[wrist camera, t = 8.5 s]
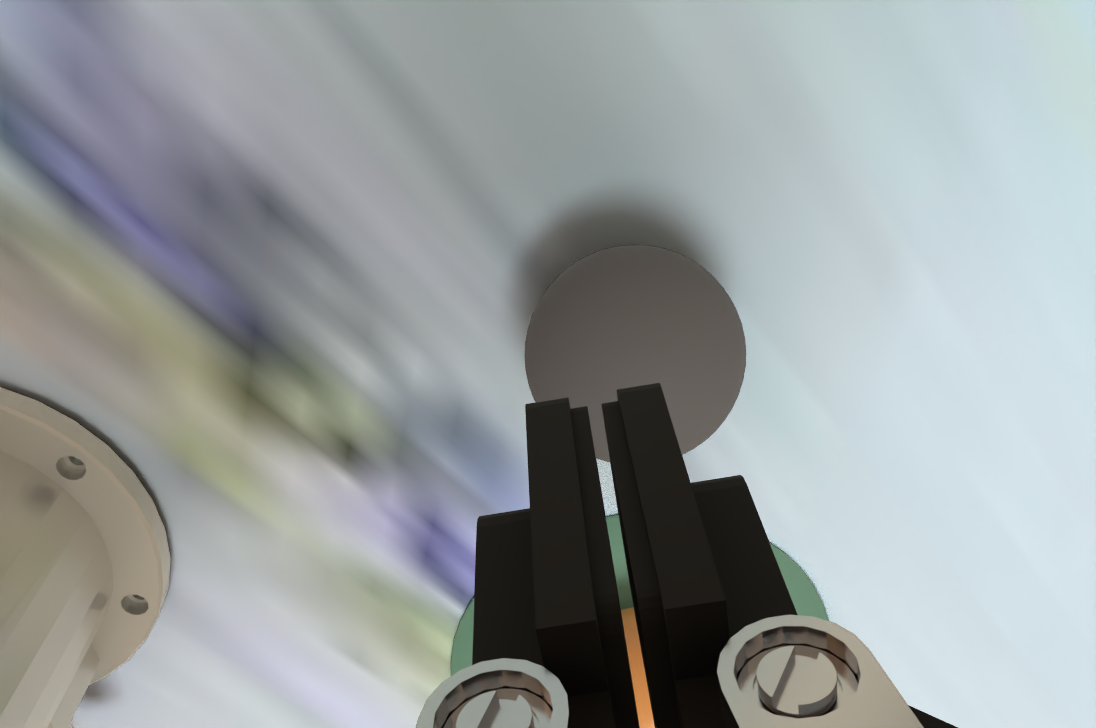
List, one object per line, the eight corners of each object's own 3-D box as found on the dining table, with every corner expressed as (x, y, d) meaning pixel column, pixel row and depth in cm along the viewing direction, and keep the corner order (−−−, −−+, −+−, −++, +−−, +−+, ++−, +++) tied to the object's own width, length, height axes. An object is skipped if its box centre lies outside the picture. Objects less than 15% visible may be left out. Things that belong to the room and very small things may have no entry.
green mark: (835, 768, 39) (836, 773, 39) (490, 817, 40) (489, 822, 40) (825, 483, 33) (826, 486, 33) (413, 546, 33) (412, 549, 33)
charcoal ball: (712, 185, 24) (671, 237, 30) (488, 277, 24) (492, 312, 30) (811, 408, 24) (750, 416, 30) (585, 506, 24) (570, 495, 30)
